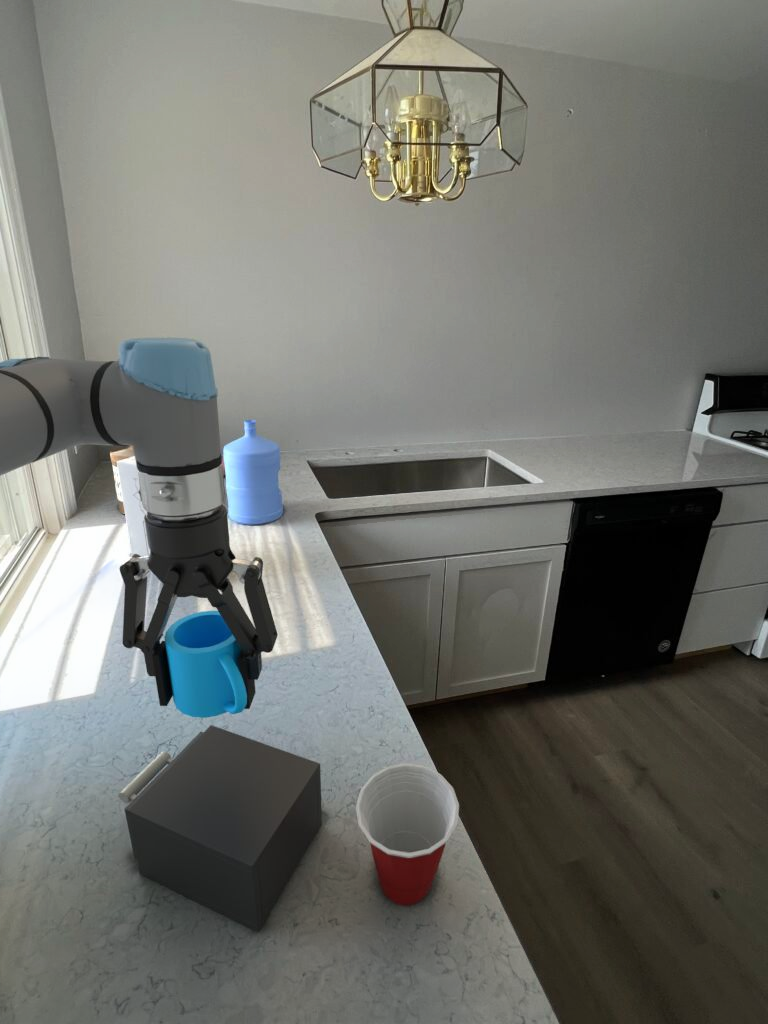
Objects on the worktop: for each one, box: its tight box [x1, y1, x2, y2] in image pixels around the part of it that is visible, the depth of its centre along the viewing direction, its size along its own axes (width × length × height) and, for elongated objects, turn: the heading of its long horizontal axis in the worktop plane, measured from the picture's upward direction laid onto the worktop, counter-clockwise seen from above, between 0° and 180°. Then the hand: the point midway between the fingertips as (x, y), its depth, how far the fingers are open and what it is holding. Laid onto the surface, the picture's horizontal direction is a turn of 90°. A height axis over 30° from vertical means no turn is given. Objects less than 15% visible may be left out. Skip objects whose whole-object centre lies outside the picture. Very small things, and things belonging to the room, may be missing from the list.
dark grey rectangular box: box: [127, 724, 323, 933], centre depth 64 cm, size 16×14×10 cm
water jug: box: [222, 419, 284, 526], centre depth 158 cm, size 16×16×28 cm
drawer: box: [118, 731, 205, 861], centre depth 65 cm, size 19×13×8 cm, turn 68°
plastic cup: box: [355, 762, 460, 906], centre depth 60 cm, size 11×11×12 cm
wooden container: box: [109, 445, 135, 515], centre depth 163 cm, size 15×15×22 cm
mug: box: [164, 610, 247, 719], centre depth 60 cm, size 12×8×8 cm
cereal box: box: [117, 456, 150, 557], centre depth 129 cm, size 22×8×25 cm, turn 65°
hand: (208, 698), depth 61 cm, fingers closed on mug, 8 cm apart
